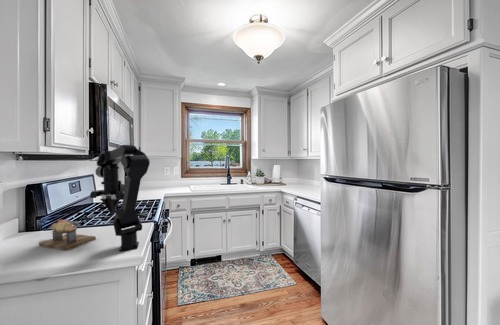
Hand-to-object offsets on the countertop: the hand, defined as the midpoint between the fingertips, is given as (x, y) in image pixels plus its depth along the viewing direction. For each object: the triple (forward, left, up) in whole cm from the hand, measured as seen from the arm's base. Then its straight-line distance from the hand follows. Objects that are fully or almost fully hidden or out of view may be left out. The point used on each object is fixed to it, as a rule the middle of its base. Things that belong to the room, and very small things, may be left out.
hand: (112, 213), depth 103 cm
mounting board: (+1, +17, -11) cm, 20 cm away
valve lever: (+3, +14, -4) cm, 15 cm away
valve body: (+1, +18, -10) cm, 20 cm away
